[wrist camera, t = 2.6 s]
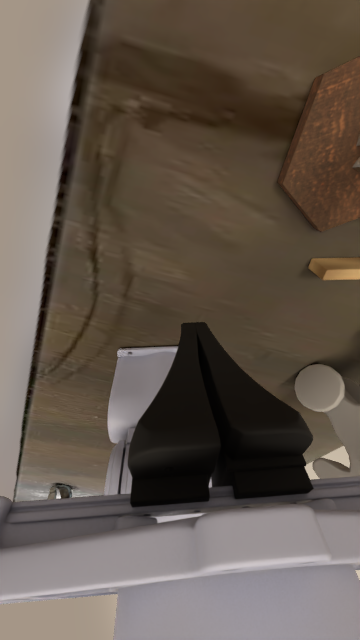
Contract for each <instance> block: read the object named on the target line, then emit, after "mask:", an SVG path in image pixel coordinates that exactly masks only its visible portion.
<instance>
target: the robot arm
mask: <svg viewBox="0 0 360 640" xmlns="http://www.w3.org/2000/svg"><path fill="white" fill-rule="evenodd" d="M117 355H118V360H117V365H116V370H115V375H114V380H113V384H112V389H111V394H110V399H109V406H108V433H109V438H110V440H111V442H113V443H118V444H116V445H115V446H114V447H113V449H112V451H111V455H110V459H109V464H108V470H107V476H106V482H105V489H104V495H102V496H89V497H75V498H62V499H49V500H36V501H22V502H12V501H11V500H10V499H9V498H6V497H3V496H0V604H8V603H18V602H30V601H42V600H52V599H65V598H76V597H88V596H98V595H110V594H118V598H117V608H116V618H115V628H114V639H113V640H360V580H359V578H358V576H357V573H356V571H355V570H360V476H354V477H340V478H327V479H314V480H310V479H309V477H308V474H307V472H306V470H305V467H304V466H306V462H305V459H304V457H303V455H302V454H303V453H304V452H305V451H306V449H307V448H308V447H309V446H310V444H311V443H312V440H313V436H312V434H311V432H310V430H309V428H308V426H307V424H306V423H305V421H304V420H303V418H302V417H301V415H300V413H299V412H298V411H296V410H295V409H293V408H292V407H290V406H288V405H287V404H285V403H284V402H282V401H281V400H279V399H278V398H276V397H275V396H273V395H272V394H271V393H269V392H268V391H266V390H265V389H264V388H263V387H262V386H260V385H259V384H258V383H257V382H255V381H254V380H253V379H252V378H251V377H250V376H249V375H247V374H246V373H245V372H244V371H243V370H242V369H241V368H240V367H239V366H238V365H237V364H236V363H235V362H234V360H233V359H232V358H231V357H230V356H229V355H228V354H227V352H226V351H225V350H224V349H223V347H222V346H221V345H220V344H219V342H218V341H217V339H216V338H215V337H214V335H213V334H212V332H211V331H210V329H209V327H208V326H207V324H206V323H205V322H196V323H183V324H181V337H180V342H179V345H178V346H170V347H146V348H122V349H118V351H117Z"/></svg>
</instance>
